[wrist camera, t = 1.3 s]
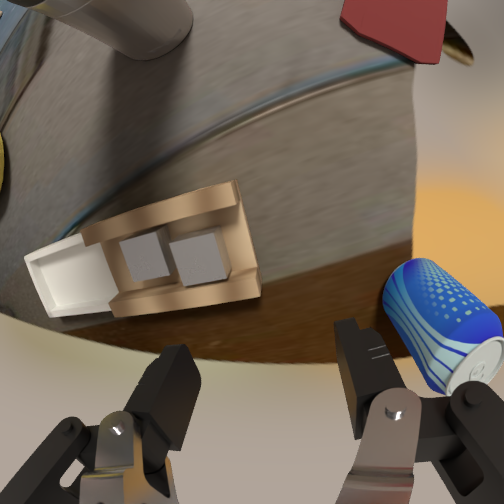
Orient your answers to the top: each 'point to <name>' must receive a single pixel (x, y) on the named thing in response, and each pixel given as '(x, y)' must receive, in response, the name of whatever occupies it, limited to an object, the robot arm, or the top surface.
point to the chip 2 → (201, 256)
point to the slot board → (179, 222)
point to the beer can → (443, 326)
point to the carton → (400, 25)
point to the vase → (1, 161)
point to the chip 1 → (149, 254)
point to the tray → (72, 277)
